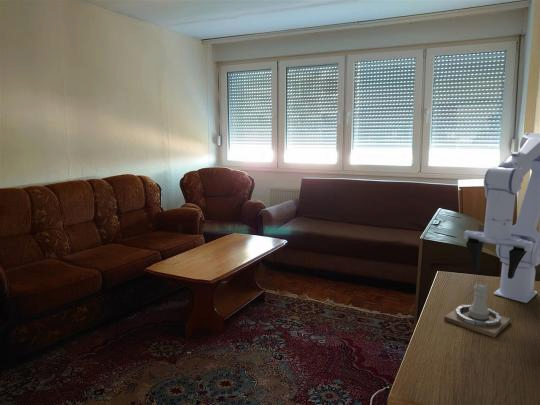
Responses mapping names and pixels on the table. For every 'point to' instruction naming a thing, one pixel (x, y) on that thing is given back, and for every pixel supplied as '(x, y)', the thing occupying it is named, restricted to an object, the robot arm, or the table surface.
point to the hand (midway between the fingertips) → (493, 273)
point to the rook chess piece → (479, 302)
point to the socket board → (478, 321)
